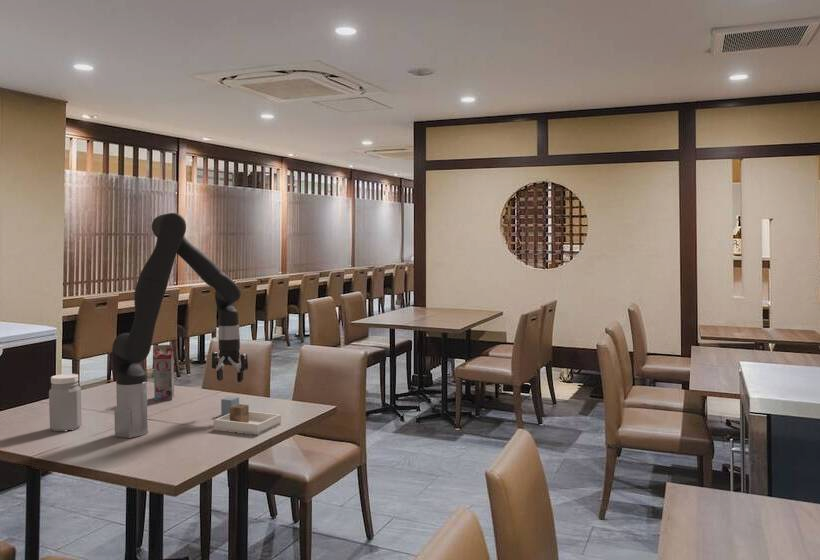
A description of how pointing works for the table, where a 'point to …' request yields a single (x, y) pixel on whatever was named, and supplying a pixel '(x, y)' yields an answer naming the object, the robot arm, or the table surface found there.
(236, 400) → the slate block
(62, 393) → the jar
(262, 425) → the tray
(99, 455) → the table surface
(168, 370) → the printed cardboard box
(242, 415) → the walnut block
